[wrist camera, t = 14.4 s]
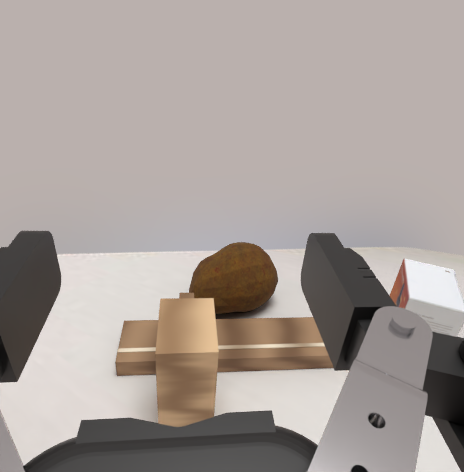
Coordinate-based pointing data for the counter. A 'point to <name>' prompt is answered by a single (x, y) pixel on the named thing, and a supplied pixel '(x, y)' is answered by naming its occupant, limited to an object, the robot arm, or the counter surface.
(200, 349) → the tan block
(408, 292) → the small box
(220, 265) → the potato
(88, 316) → the counter surface
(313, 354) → the walnut board
